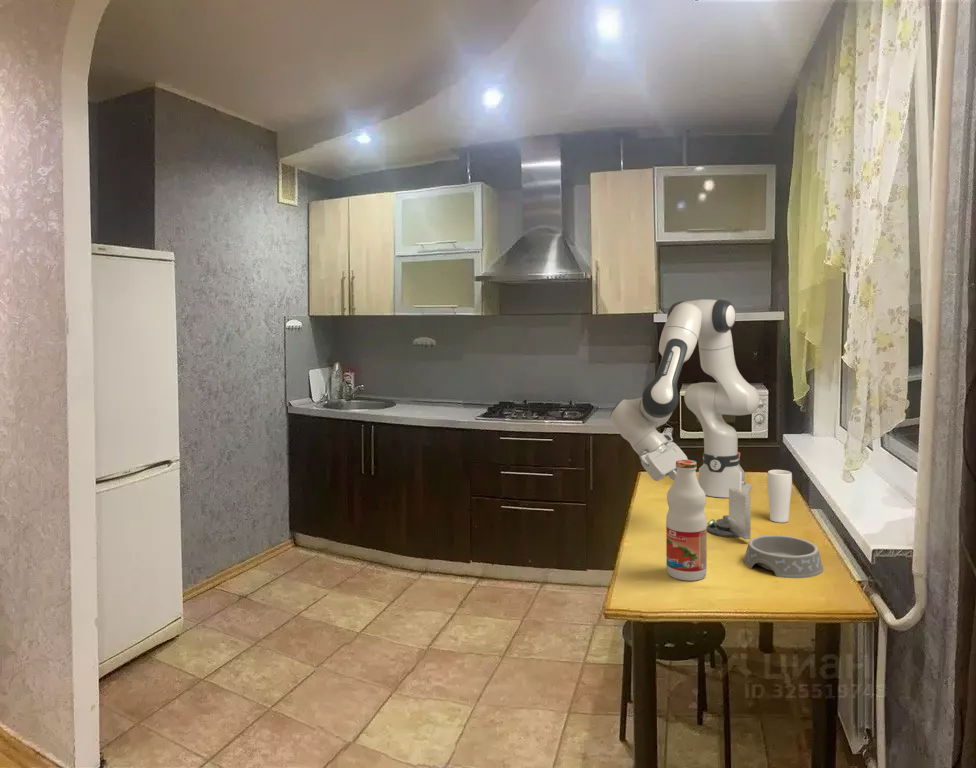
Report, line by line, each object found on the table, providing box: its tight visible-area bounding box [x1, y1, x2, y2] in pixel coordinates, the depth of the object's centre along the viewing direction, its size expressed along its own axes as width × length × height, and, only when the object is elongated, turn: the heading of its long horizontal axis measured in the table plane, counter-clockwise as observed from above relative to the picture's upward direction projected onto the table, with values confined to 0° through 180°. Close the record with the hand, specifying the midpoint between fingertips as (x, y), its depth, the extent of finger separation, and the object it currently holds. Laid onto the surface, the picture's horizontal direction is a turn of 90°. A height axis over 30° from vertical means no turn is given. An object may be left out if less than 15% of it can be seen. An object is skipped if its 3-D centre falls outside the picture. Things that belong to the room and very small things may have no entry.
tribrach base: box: [707, 519, 741, 538], centre depth 196 cm, size 11×11×2 cm
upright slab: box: [715, 488, 752, 541], centre depth 191 cm, size 14×6×12 cm, turn 8°
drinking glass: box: [767, 469, 793, 524], centre depth 203 cm, size 7×7×15 cm
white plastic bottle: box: [665, 459, 708, 582], centre depth 163 cm, size 9×9×28 cm
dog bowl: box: [743, 534, 824, 579], centre depth 169 cm, size 17×18×5 cm
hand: (684, 483), depth 194 cm, fingers closed
